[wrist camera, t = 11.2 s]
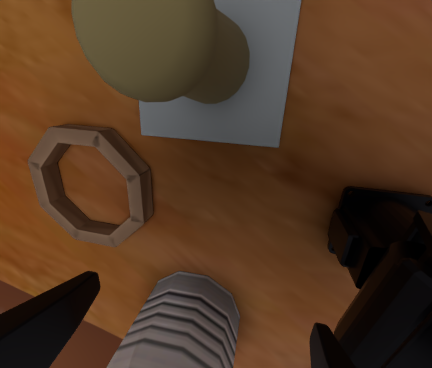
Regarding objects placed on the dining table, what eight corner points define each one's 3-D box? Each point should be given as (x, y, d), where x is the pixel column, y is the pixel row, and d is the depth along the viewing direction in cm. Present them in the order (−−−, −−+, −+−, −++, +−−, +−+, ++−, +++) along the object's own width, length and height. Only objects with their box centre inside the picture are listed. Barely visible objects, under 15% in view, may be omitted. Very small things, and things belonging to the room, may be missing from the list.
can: (224, 265, 25) (189, 399, 14) (251, 339, 28) (239, 495, 17) (138, 274, 28) (56, 388, 17) (171, 339, 31) (119, 468, 21)
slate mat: (306, -43, 14) (308, -50, 14) (278, 145, 19) (278, 147, 18) (134, -33, 16) (128, -39, 16) (145, 133, 21) (141, 134, 20)
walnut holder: (147, 131, 21) (136, 135, 19) (155, 242, 26) (146, 253, 24) (36, 121, 23) (16, 123, 21) (62, 224, 28) (47, 233, 26)
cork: (173, 8, 16) (18, -130, 6) (257, 16, 15) (234, -129, 5) (169, 98, 19) (52, 103, 9) (241, 109, 18) (204, 130, 8)
